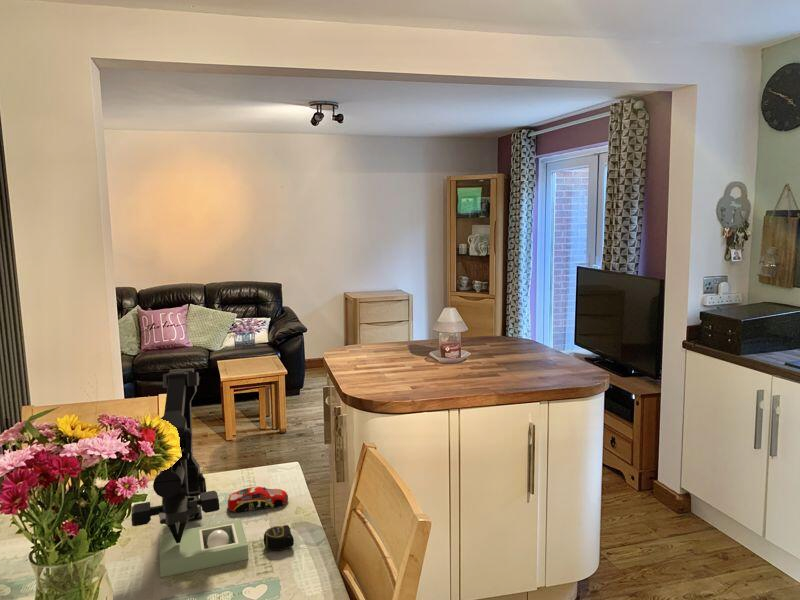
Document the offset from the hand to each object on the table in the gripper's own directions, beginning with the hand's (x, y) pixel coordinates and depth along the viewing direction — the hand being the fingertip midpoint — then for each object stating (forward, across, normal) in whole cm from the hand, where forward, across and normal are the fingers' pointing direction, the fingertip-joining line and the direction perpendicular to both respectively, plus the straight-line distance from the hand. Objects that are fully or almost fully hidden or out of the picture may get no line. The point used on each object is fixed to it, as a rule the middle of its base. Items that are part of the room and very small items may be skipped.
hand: (178, 542), depth 140 cm
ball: (+2, +9, 0) cm, 9 cm away
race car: (+4, +22, +20) cm, 30 cm away
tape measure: (+4, +23, -3) cm, 24 cm away
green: (+4, +5, 0) cm, 7 cm away
